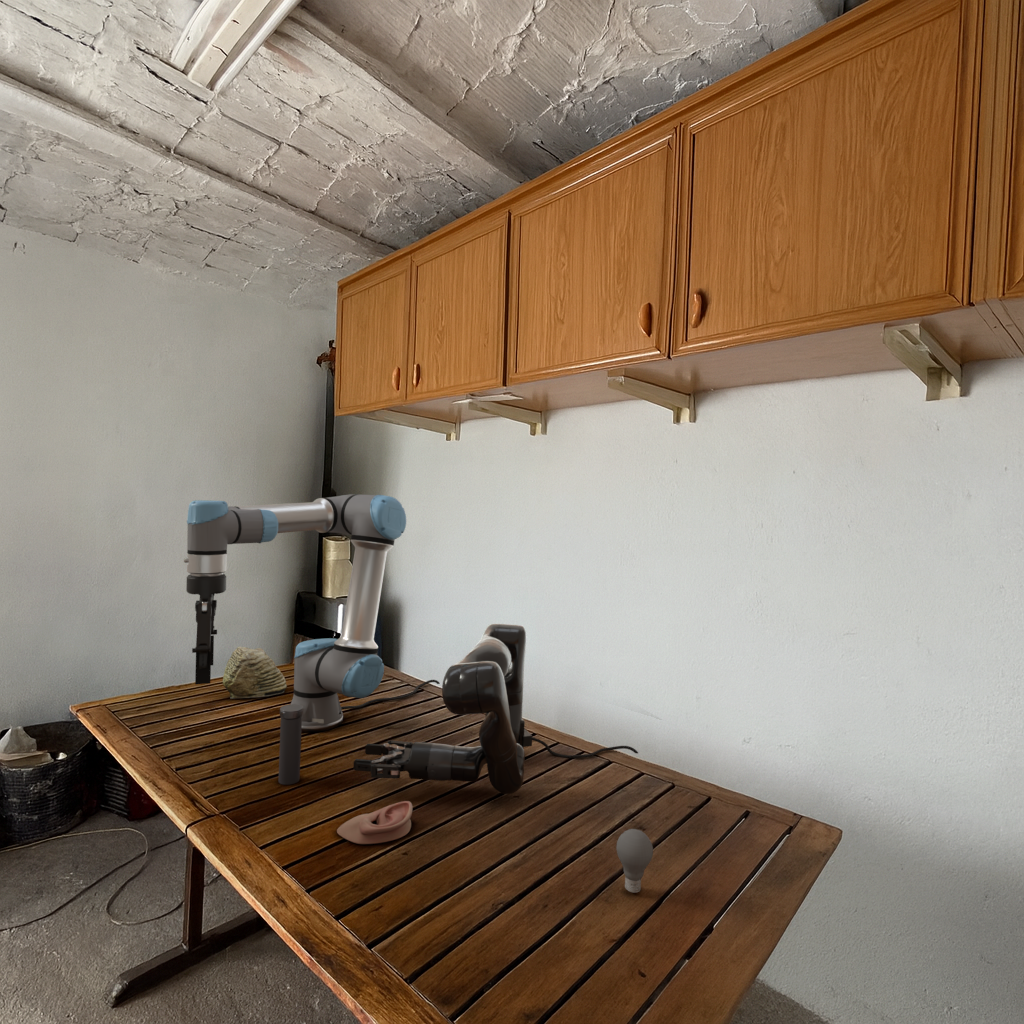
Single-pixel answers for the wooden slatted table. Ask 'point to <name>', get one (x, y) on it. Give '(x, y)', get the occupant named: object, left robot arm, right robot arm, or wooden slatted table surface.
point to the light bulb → (634, 857)
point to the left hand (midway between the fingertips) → (204, 674)
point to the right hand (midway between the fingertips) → (359, 756)
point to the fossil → (252, 674)
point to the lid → (291, 711)
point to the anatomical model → (379, 825)
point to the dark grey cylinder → (290, 751)
